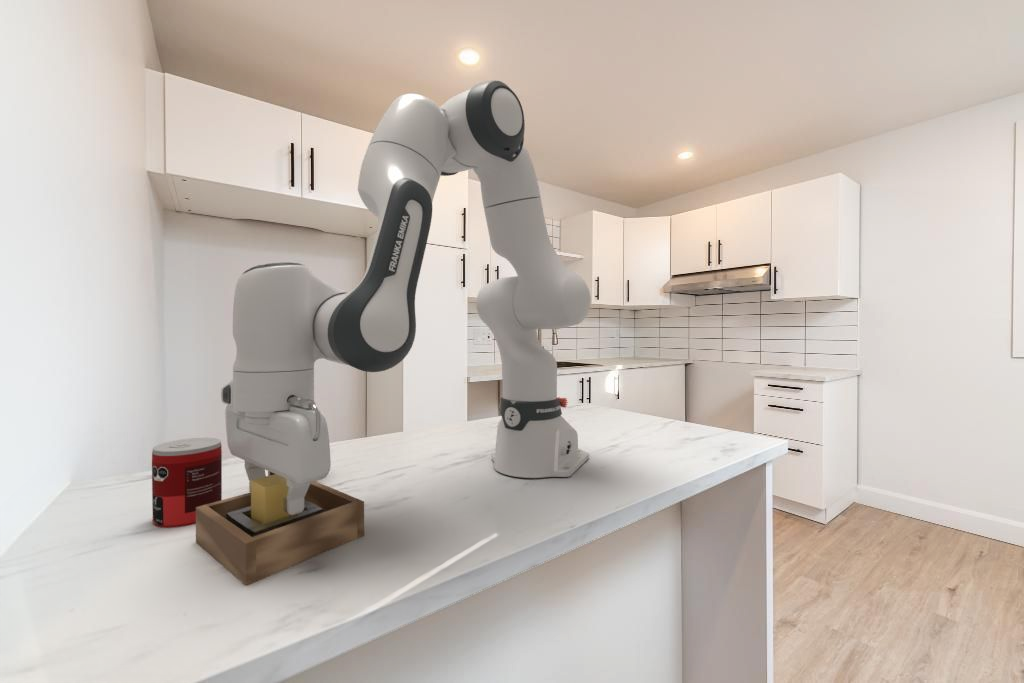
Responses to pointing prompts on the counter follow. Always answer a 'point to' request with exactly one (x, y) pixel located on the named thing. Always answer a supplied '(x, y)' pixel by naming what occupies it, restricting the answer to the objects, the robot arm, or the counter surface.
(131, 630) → the counter surface
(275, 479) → the plug
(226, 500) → the walled box
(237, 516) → the socket
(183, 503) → the canned food
